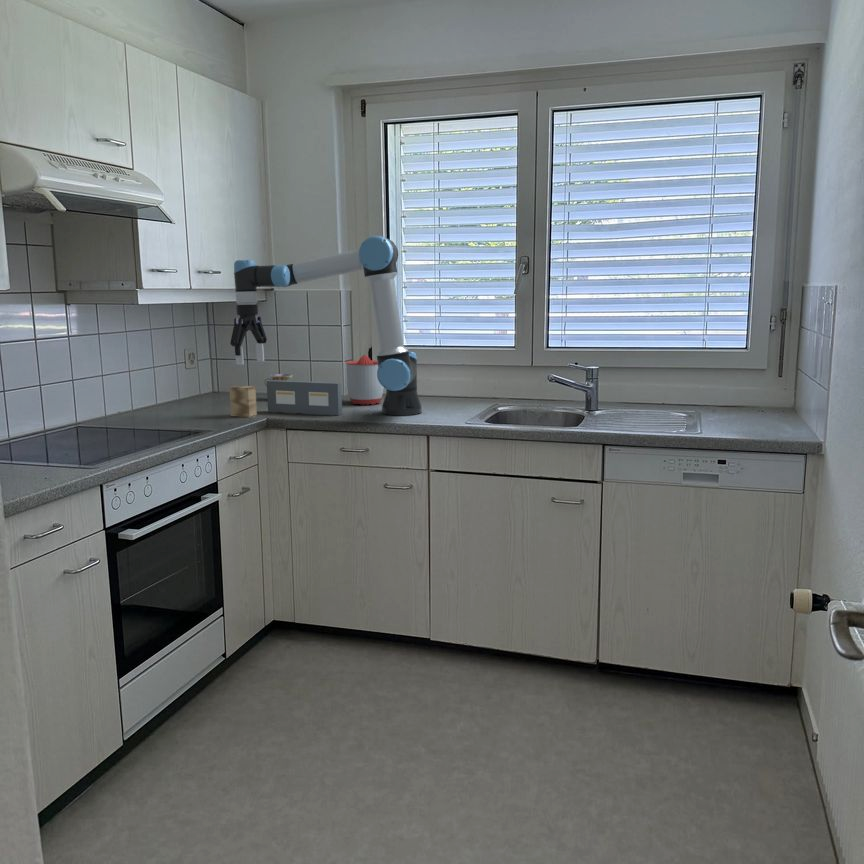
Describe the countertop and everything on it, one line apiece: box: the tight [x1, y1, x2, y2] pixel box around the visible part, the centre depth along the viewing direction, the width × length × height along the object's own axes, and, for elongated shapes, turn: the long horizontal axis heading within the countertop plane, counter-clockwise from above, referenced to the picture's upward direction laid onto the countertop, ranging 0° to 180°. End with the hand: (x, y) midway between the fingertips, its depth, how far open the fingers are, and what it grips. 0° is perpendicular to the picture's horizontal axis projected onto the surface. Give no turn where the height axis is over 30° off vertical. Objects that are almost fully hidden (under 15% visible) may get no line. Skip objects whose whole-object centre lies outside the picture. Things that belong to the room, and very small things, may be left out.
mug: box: [264, 373, 294, 388], centre depth 330 cm, size 12×9×11 cm
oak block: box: [228, 385, 258, 418], centre depth 290 cm, size 8×5×11 cm, turn 71°
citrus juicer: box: [345, 354, 385, 406], centre depth 318 cm, size 16×17×20 cm
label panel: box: [266, 379, 343, 417], centre depth 295 cm, size 30×4×12 cm, turn 71°
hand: (250, 362), depth 285 cm, fingers open, 13 cm apart
